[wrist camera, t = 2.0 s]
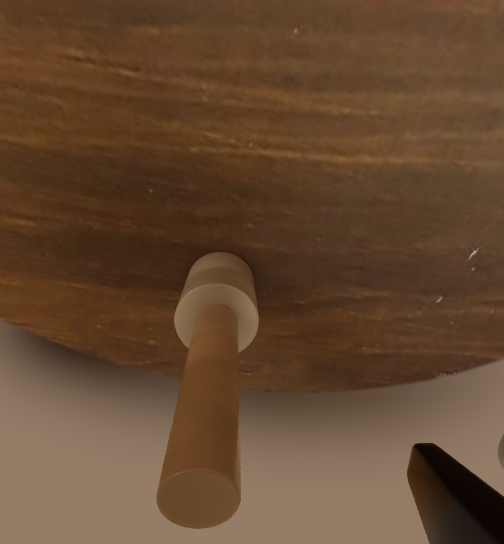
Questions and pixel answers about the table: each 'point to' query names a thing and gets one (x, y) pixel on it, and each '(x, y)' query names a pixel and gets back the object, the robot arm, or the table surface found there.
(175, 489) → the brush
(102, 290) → the table surface
